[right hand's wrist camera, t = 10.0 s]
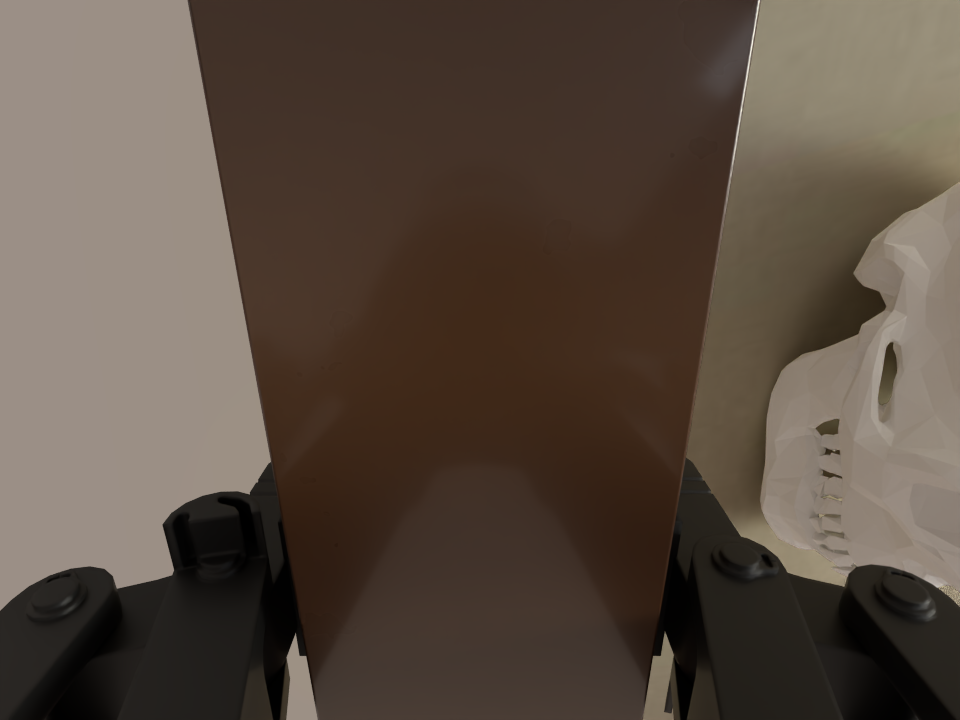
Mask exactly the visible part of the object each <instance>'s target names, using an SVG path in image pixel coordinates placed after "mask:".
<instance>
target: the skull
mask: <svg viewBox="0 0 960 720" xmlns="http://www.w3.org/2000/svg"><path fill="white" fill-rule="evenodd" d="M853 274H854V275H855V277H856V278H857V280H858V281H859V282H860V283H861V284H862V285H863V286H865V287H868V288H871V289H874V290H877V291H879V292H880V294H881V296H882V298H883V300H884V302H885V304H886V308H885V310H884V311H883V312H881V313H879V314H878V315H876V316H875V317H873V318H872V319H870V320H868V321H867V322H865V323H864V324H862V326H861V329H860V331H859V334H858V335H855V336H853V337H851V338H848V339H846V340H843V341H841V342H839V343H836V344H834V345H831V346H829V347H826V348H823V349H821V350H817V351H813V352H809V353H805V354H802V355H801V356H799V357H798V358H796V359H795V360H794V361H792V362H791V363H789V364H788V365H787V366H786V367H785V368H784V369H783V370H782V371H781V373H780V375H779V377H778V379H777V382H776V384H775V386H774V388H773V391H772V393H771V398H770V403H769V408H768V414H767V426H766V456H765V468H764V475H763V482H762V489H761V496H760V502H761V508H762V512H763V514H764V516H765V519H766V521H767V523H768V525H769V526H770V527H771V529H772V530H773V532H774V533H775V535H776V536H777V538H778V539H780V540H782V541H784V542H786V543H788V544H790V545H792V546H794V547H797V548H801V549H805V550H815V551H817V552H818V553H820V554H821V555H822V556H824V557H825V558H826V559H828V560H829V561H832V562H833V563H834V564H835V565H836V566H837V567H831V568H832V569H833V570H834V571H836V572H838V573H840V574H842V575H844V576H846V577H848V574H849V573H850V572H851V571H852V570H854V569H855V568H856V567H858V566H864V565H870V564H874V565H882V566H890V567H894V568H897V569H900V570H903V571H906V572H909V573H912V574H914V575H916V576H918V577H920V578H922V579H924V580H925V581H927V582H929V583H931V584H933V585H934V586H936V587H937V588H938V587H940V586H943V585H947V586H952V587H954V588H955V589H956V590H957V591H959V592H960V182H958V183H957V184H955V185H953V186H952V187H950V188H949V189H948V190H946V191H945V192H944V193H942V194H941V195H939V196H937V197H936V198H934V199H932V200H931V201H929V202H927V203H926V204H924V205H922V206H921V207H919V208H917V209H914V210H911V211H908V212H905V213H904V214H902V215H901V216H900V217H899V218H898V219H896V220H895V221H894V222H893V223H891V224H890V225H889V226H888V227H887V228H885V229H884V230H883V231H882V232H880V233H879V234H878V235H877V236H876V237H874V238H873V239H872V240H871V242H870V244H869V246H868V248H867V249H866V251H865V253H864V255H863V257H862V258H861V260H860V262H859V264H858V266H857V268H856V269H855V271H854V273H853ZM890 342H894V344H893V350H894V352H895V354H896V358H897V374H896V377H895V379H894V383H893V390H892V396H891V398H890V400H889V402H888V403H885V404H883V405H880V404H879V402H878V392H879V387H880V381H881V376H882V370H883V363H884V357H885V351H886V347H887V345H888V344H889V343H890ZM833 419H840V421H839V427H838V434H834V435H829V434H824V435H823V436H821V435H820V434H819V432H818V431H817V430H816V429H815V428H816V427H818V426H819V425H820V424H822V423H823V422H826V421H830V420H833ZM826 448H827V449H830V450H832V451H834V452H836V450H840V455H838V454H835V453H832V452H831V454H830V455H824V454H825V450H826ZM823 470H825V471H827V472H829V473H834V474H836V475H839V476H841V477H842V479H840V478H837V477H835V476H834V477H832V478H829V477H825V476H823ZM827 495H830V496H833V497H835V498H837V499H839V498H842V501H839V500H834V499H830V498H826V499H825V498H822V497H823V496H827ZM819 514H825V515H824V516H822V517H821V518H820V517H819ZM854 563H855V564H856V565H855V564H854Z"/></svg>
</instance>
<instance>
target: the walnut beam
mask: <svg viewBox="0 0 960 720" xmlns="http://www.w3.org/2000/svg"><path fill="white" fill-rule="evenodd" d="M760 3H761V0H188V5H189V10H190V16H191V21H192V27H193V32H194V38H195V44H196V49H197V55H198V60H199V65H200V71H201V77H202V82H203V88H204V93H205V99H206V104H207V110H208V115H209V121H210V126H211V132H212V137H213V143H214V148H215V154H216V159H217V165H218V171H219V176H220V182H221V187H222V193H223V198H224V204H225V209H226V215H227V220H228V226H229V231H230V237H231V242H232V248H233V253H234V259H235V264H236V270H237V276H238V281H239V287H240V292H241V298H242V303H243V309H244V314H245V320H246V325H247V331H248V336H249V342H250V347H251V353H252V358H253V364H254V369H255V375H256V381H257V386H258V392H259V397H260V403H261V408H262V413H263V419H264V425H265V430H266V436H267V441H268V447H269V452H270V458H271V463H272V469H273V474H274V480H275V485H276V491H277V497H278V502H279V508H280V513H281V519H282V524H283V530H284V535H285V541H286V546H287V552H288V557H289V563H290V568H291V574H292V579H293V585H294V590H295V596H296V601H297V607H298V613H299V618H300V624H301V629H302V635H303V640H304V646H305V651H306V657H307V662H308V668H309V673H310V679H311V684H312V690H313V695H314V701H315V706H316V712H317V717H318V720H643V714H644V707H645V701H646V695H647V689H648V683H649V677H650V671H651V665H652V659H653V653H654V647H655V641H656V635H657V629H658V623H659V616H660V610H661V604H662V598H663V592H664V586H665V580H666V574H667V568H668V562H669V556H670V550H671V544H672V538H673V531H674V525H675V519H676V513H677V507H678V501H679V495H680V489H681V483H682V477H683V471H684V465H685V459H686V453H687V446H688V440H689V434H690V428H691V422H692V416H693V410H694V404H695V398H696V392H697V386H698V380H699V374H700V368H701V362H702V355H703V349H704V343H705V337H706V331H707V325H708V319H709V313H710V307H711V301H712V295H713V289H714V283H715V277H716V270H717V264H718V258H719V252H720V246H721V240H722V234H723V228H724V222H725V216H726V210H727V204H728V198H729V192H730V185H731V179H732V173H733V167H734V161H735V155H736V149H737V143H738V137H739V131H740V125H741V119H742V113H743V107H744V101H745V94H746V88H747V82H748V76H749V70H750V64H751V58H752V52H753V46H754V40H755V34H756V28H757V22H758V16H759V9H760Z"/></svg>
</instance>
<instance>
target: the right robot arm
mask: <svg viewBox="0 0 960 720" xmlns="http://www.w3.org/2000/svg"><path fill="white" fill-rule="evenodd" d="M163 528H164V532H165V536H166V540H167V544H168V548H169V552H170V555H171V559H172V563H173V567H174V572H173V575H172V576H169V577H165V578H162V579H159V580H154V581H150V582H146V583H141V584H137V585H132V586H128V587H123V588H119V589H117V588H116V585H115V582H114V579H113V576H112V575H111V574H110V573H108V572H107V571H106V570H105V569H101V568H96V567H81V568H74V569H69V570H66V571H62V572H60V573H56V574H53V575H50V576H48V577H46V578H44V579H42V580H40V581H39V582H37V583H35V584H33V585H31V586H29V587H28V588H26V589H25V590H24V591H22V592H21V593H20V594H19V595H17V596H16V597H15V598H13V599H12V600H11V601H10V602H9V603H8V604H7V605H6V606H5V607H4V608H3V609H2V610H1V611H0V720H286V715H287V705H288V694H289V683H290V676H289V670H288V664H287V658H286V657H287V655H288V652H289V649H290V647H291V644H292V641H293V638H294V636H295V633H296V637H297V643H298V649H299V655H300V656H306V651H305V646H304V640H303V635H302V629H301V624H300V618H299V613H298V607H297V601H296V596H295V590H294V585H293V579H292V574H291V568H290V563H289V557H288V552H287V546H286V541H285V535H284V530H283V524H282V519H281V513H280V508H279V502H278V497H277V491H276V485H275V480H274V474H273V469H272V463H271V462H270V463H269V464H268V465H267V467H266V468H265V470H264V472H263V473H262V475H261V476H260V478H259V479H258V483H256V484H255V485H254V487H253V489H252V490H251V492H250V495H249V494H245V493H241V492H218V493H213V494H209V495H205V496H201V497H199V498H197V499H195V500H192V501H190V502H187V503H185V504H184V505H182V506H181V507H180V508H178V509H177V510H175V511H174V512H172V513H171V514H170V516H169V517H168V518H167V519H166V521H165V522H164V523H163ZM665 632H666V635H667V637H668V640H669V643H670V645H671V648H672V651H673V653H674V658H673V664H672V669H671V675H670V680H669V686H668V692H667V697H666V704H665V710H664V712H667V713H672V708H673V714H674V720H960V607H959V606H958V605H957V604H956V603H955V602H954V601H953V600H952V599H951V598H950V597H948V596H947V595H946V594H945V593H943V592H942V591H941V590H939V589H938V588H937V587H936V586H934V585H933V584H931V583H929V582H927V581H925V580H924V579H922V578H920V577H918V576H916V575H914V574H912V573H909V572H906V571H903V570H900V569H897V568H894V567H890V566H882V565H874V564H870V565H864V566H858V567H856V568H855V569H854V570H852V571H851V572H850V573H849V574H848V577H847V580H846V583H845V587H843V586H838V585H834V584H829V583H825V582H821V581H816V580H812V579H807V578H803V577H800V576H796V575H793V574H789V573H787V571H786V569H785V568H784V566H783V564H782V563H781V561H780V560H779V558H778V557H777V556H775V555H774V554H773V553H772V552H770V551H769V550H768V549H767V548H766V547H764V546H762V545H760V544H758V543H756V542H754V541H752V540H750V539H748V538H744V537H741V536H740V535H739V533H738V532H737V530H736V529H735V527H734V526H733V524H732V522H731V521H730V519H729V518H728V516H727V515H726V513H725V512H724V510H723V509H722V507H721V506H720V504H719V503H718V501H717V499H716V498H715V496H714V495H713V494H711V490H710V489H709V487H708V486H707V484H706V483H705V481H703V480H702V476H701V475H700V473H699V472H698V470H697V469H696V467H695V466H694V464H693V463H692V462H691V461H690V460H688V459H687V458H686V459H685V465H684V471H683V477H682V483H681V489H680V495H679V501H678V507H677V513H676V519H675V525H674V531H673V538H672V544H671V550H670V556H669V562H668V568H667V574H666V580H665V586H664V592H663V598H662V604H661V610H660V616H659V623H658V629H657V635H656V641H655V647H654V653H653V656H661V651H662V645H663V639H664V633H665Z"/></svg>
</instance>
